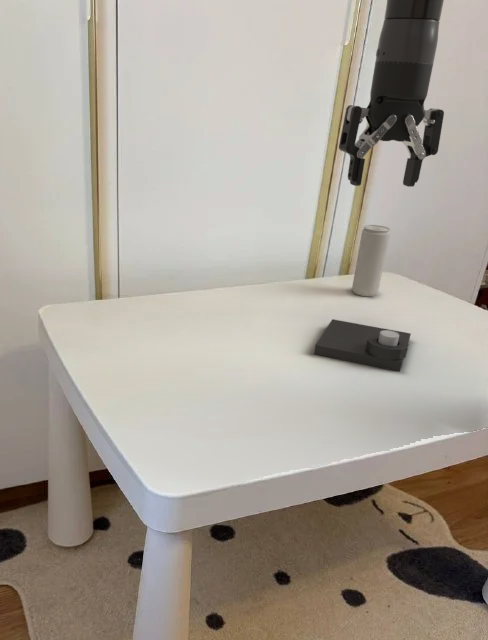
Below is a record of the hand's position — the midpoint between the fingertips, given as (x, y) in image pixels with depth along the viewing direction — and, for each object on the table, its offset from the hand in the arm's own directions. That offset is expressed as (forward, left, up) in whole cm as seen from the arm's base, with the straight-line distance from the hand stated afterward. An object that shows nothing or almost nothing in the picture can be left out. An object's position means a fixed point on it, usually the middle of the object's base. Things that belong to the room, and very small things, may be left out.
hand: (382, 185), depth 92 cm
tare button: (-6, +13, -19) cm, 24 cm away
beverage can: (+1, -17, -22) cm, 28 cm away
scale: (-3, +10, -22) cm, 24 cm away
